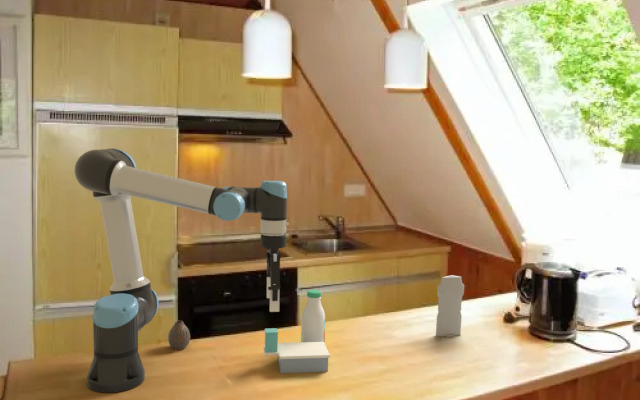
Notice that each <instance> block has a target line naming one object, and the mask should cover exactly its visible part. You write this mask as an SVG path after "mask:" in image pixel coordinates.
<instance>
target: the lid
mask: <svg viewBox="0 0 640 400" xmlns="http://www.w3.org/2000/svg"><path fill="white" fill-rule="evenodd" d="M278 340H279V331H278V328H277V327H276V328H275V327H274V328H273V327H272V328H270V327H269V328H264V347H263V355H264V356H269V357H270V356H278V355H279V358H280V359H302V358H328V359H330V358H331V354H330V352H329V351H328V348H327V346H326V343H324V342H301V341H300V342H278Z"/></svg>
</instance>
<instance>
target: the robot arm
mask: <svg viewBox="0 0 640 400" xmlns="http://www.w3.org/2000/svg"><path fill="white" fill-rule="evenodd" d="M74 175H75V179H76V180H77V182H78V184H79V185H80V186H81V187H83V188H84V189H86V190H87V191H90V192H92V196H93V199H94V200H96V201H97V202H98V203H99V204H100V208H101V214H102V215H101V216H102V221H103V226H104V232H105V238H106V243H107V244H106V245H107V249H108V256H109V261H110V267H111V268H110V269H111V271H112V278H113V283H112V284H111V286H110V287H109V293H110V294H109V295H108V296H107V295H105V296H103V297H101V298H99V299H98V300H97V301H96V302H95V303H94V305H93V311H92V317H91V318H92V329H93V330H92V331H93V332H92V333H93V334H92V335H93V339H92V340H93V358H92V360H91V364H90V366H89V371H88V373H87V376H86V377H87V379H86V380H87V381H86V383H87V384H86V385H87V387H88V388H89V389H90V390H92V391H94V392H99V393H119V392H125V391H128V390H132V389H134V388H136V387H138V386H140V385H141V384H142V383H144V381H145V378H146V376H145V374H146V372H145V371H146V370H145V367H144V365H143V361H142V359H141V356H140V353H139V332H140V331H141V330H142V329H143V328H144V327H145V326H147V325H148V324H149V323H150V322H151V321H152V320H153V319H154V317H155V315H156V314H157V313H158V310H159V303H160V302H159V301H160V300H159V297H158V295H157V292H156V291H155V290H154V289H153V288H152V285H151V281H150V279H149V278H147V277H146V276H144V271H143V264H142V259H141V258H142V257H141V252H140V244H139V241H138V235H137V229H136V223H135V216H134V210H133V205H132V197H136V198H139V199H140V198H141V199H144V200H147V201H153V202H157V203H161V204H166V205H170V206H174V207H179V208H182V209H186V210H190V211H196V212H199V213H204V214H208V215H212V216H215V217H217V218H218V219H220V220H222V221H226V222H231V221H235V220H238V219H239V218H240V217H241V216H243V214H260V233H261V234H260V247H262V248H264V249H267V252H266V253H265V258H266V299H269V312H270V313H275V312H276V313H277V312H278V313H279V312H280V296H281V295H280V290H281V287H282V286H281V275H280V273H281V270H280V269H281V253H280V252H279V249H284V248H286V247H287V234H286V233H287V226H289V224H290V223H289V221H288V222H287V219H288V218H287V217H288V216H287V214H288V213H287V212H288V191H287V190H288V187H287V183H286V182H285V181H283V180H263V181H261V183H260V186H257V187H251V186H250V187H249V186H233V185H232V186H223V187H217V186H212V185H208V184H204V183H199V182H196V181H192V180H187V179H183V178H179V177H175V176H171V175H166V174H162V173H158V172H154V171H149V170H145V169H142V168H137V164H136V162H135V160H134V159H133V157H132V156H131V155H130V154H129V153H127V152H126V151H124V150H121V149H117V148H105V149H91V150H88V151H86V152H84V153H83V154H82V155H80V156H79V158H78V159H77V161H76V163H75V166H74Z"/></svg>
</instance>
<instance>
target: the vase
mask: <svg viewBox="0 0 640 400" xmlns="http://www.w3.org/2000/svg"><path fill="white" fill-rule="evenodd" d="M167 337H168V338H167V340H168V344H169V346H170V347H171V349H173V350H175V351H180V350H184V349H186V348H187V347H188V345H189V343H190V341H191V333H190V329H189V328H188V326H186V324H185V323H184V321H183V320H176V321H175V322H174V324H173V325H172V326H171V328H170V330H169V332H168V336H167Z"/></svg>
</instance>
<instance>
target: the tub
mask: <svg viewBox="0 0 640 400" xmlns="http://www.w3.org/2000/svg"><path fill="white" fill-rule="evenodd" d="M277 363H278V367H279V372H280V374H294V373H295V374H297V373H298V374H299V373H321V372H322V373H324V372H325V373H327V372H328V371H329V368H328V367H329V358H302V359H280V358H279V355H277Z"/></svg>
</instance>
